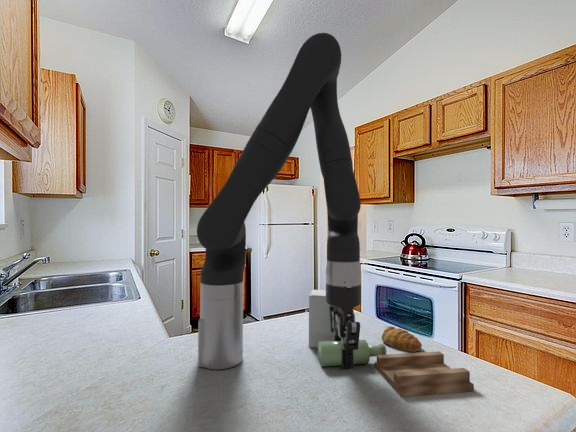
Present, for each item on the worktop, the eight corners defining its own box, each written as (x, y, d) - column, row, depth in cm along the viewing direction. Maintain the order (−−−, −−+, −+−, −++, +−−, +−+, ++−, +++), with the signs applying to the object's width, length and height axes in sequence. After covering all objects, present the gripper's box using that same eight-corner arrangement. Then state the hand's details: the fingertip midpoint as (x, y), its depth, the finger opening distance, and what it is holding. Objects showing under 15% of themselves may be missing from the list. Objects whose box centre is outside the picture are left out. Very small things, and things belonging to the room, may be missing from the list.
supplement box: (338, 349, 74) (338, 296, 74) (307, 347, 75) (308, 295, 76) (339, 338, 81) (339, 290, 81) (311, 336, 82) (311, 288, 83)
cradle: (400, 396, 54) (400, 379, 54) (374, 367, 65) (374, 353, 65) (473, 391, 56) (473, 374, 56) (436, 363, 67) (436, 349, 67)
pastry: (428, 349, 74) (427, 333, 75) (410, 356, 71) (410, 340, 71) (395, 337, 82) (395, 323, 82) (378, 343, 79) (378, 328, 79)
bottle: (323, 370, 63) (323, 347, 63) (317, 360, 68) (317, 338, 68) (388, 366, 65) (388, 343, 65) (379, 356, 70) (379, 335, 70)
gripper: (318, 276, 73) (318, 348, 73) (336, 289, 59) (336, 379, 59) (348, 275, 74) (349, 347, 74) (373, 287, 60) (373, 376, 60)
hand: (343, 360), depth 66 cm, fingers closed on bottle, 4 cm apart
